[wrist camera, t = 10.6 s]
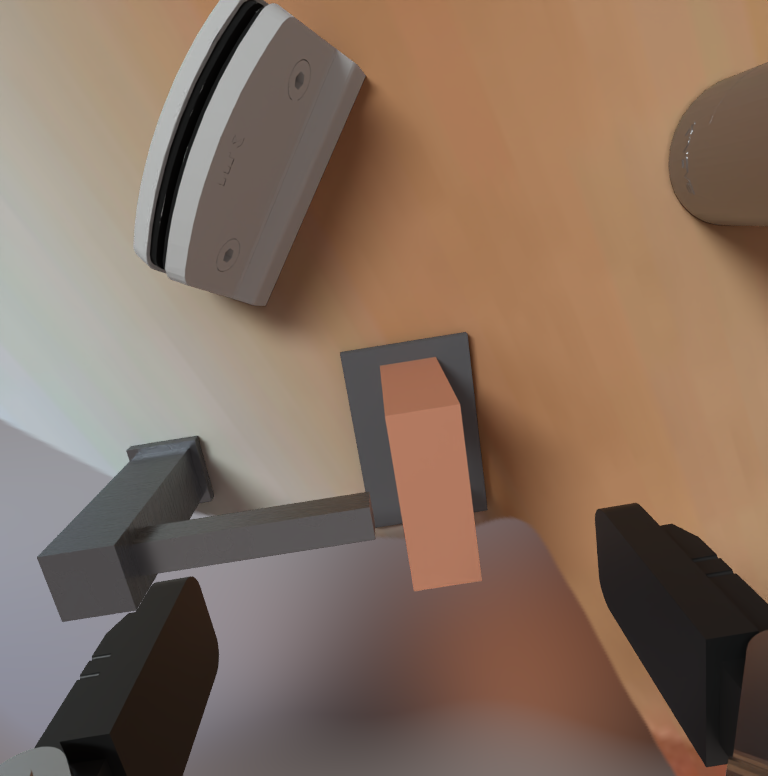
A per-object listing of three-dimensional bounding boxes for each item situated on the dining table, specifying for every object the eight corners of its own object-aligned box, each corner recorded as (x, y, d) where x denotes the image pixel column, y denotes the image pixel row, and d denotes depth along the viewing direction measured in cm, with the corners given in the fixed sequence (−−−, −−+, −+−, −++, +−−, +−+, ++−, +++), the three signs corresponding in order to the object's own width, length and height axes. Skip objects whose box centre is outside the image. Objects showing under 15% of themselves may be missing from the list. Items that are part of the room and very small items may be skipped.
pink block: (435, 356, 39) (460, 403, 29) (454, 495, 42) (481, 580, 32) (379, 365, 39) (385, 416, 29) (402, 503, 43) (414, 591, 33)
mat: (465, 332, 39) (467, 333, 39) (485, 506, 44) (487, 510, 43) (340, 352, 40) (340, 354, 39) (372, 524, 44) (372, 528, 43)
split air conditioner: (263, 311, 39) (171, 311, 29) (208, 280, 39) (102, 270, 30) (368, 69, 34) (302, -24, 25) (305, 39, 35) (217, -61, 26)
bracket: (364, 408, 41) (364, 496, 28) (375, 470, 42) (380, 580, 29) (130, 446, 41) (23, 550, 28) (149, 506, 43) (56, 630, 30)
